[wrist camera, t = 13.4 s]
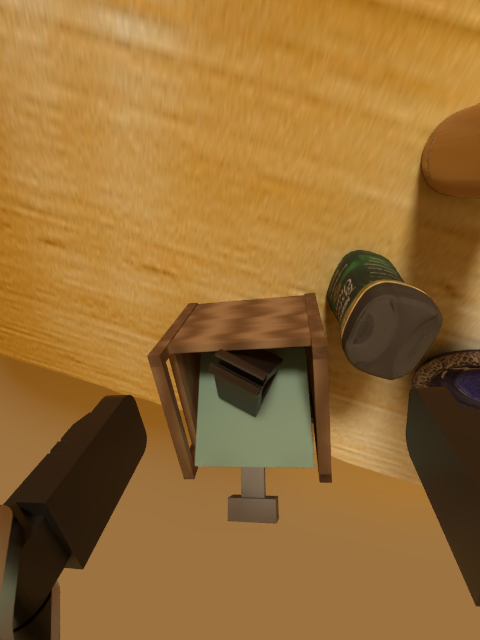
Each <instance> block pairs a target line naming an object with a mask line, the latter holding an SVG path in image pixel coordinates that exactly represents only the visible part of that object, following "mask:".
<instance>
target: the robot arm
mask: <svg viewBox="0 0 480 640" xmlns="http://www.w3.org/2000/svg"><path fill="white" fill-rule="evenodd" d="M422 172H423V176H424V178H425V180H426V182H427V183H428V184H429V185H430V187H431V188H432V189H434V190H436V191H437V192H439V193H442V194H445V195H453V196H462V197H471V198H480V103H479V104H477V105H474V106H472V107H469V108H467V109H464V110H462V111H459V112H457V113H455V114H453V115H451V116H450V117H448V118H447V119H445V120H444V121H443V122H442V123H441V124H440V125H438V127H437V128H436V129H435V130H434V131H433V133H432V134H431V136H430V137H429V139H428V141H427V143H426V145H425V148H424V151H423V155H422ZM406 442H407V447H408V451H409V455H410V457H411V460H412V462H413V464H414V466H415V469H416V471H417V473H418V475H419V478H420V480H421V482H422V484H423V487H424V489H425V491H426V493H427V496H428V498H429V500H430V503H431V505H432V507H433V509H434V512H435V514H436V516H437V518H438V521H439V523H440V525H441V527H442V530H443V532H444V534H445V536H446V539H447V541H448V543H449V546H450V548H451V550H452V552H453V555H454V557H455V559H456V562H457V564H458V566H459V568H460V571H461V573H462V575H463V577H464V579H465V582H466V584H467V586H468V589H469V591H470V593H471V596H472V598H473V600H474V602H475V605H476V606H480V412H479V411H478V410H476V409H475V408H473V407H461V406H460V405H459V403H458V402H457V401H456V399H455V398H454V397H453V395H452V394H451V393H450V391H449V390H448V389H447V388H445V387H418V388H412V389H411V390H410V393H409V403H408V414H407V424H406ZM146 443H147V435H146V431H145V428H144V425H143V422H142V419H141V416H140V413H139V410H138V407H137V404H136V401H135V399H134V397H133V396H131V395H110V396H105V397H104V398H103V399H102V400H101V401H100V402H99V404H98V405H97V406H96V407H95V408H94V409H93V411H92V412H91V413H88V414H87V415H85V416H84V417H83V418H81V419H80V420H79V421H77V422H76V423H75V424H73V425H72V426H71V428H70V429H69V430H68V431H67V432H66V433H65V435H64V436H63V437H62V438H61V441H60V442H57V444H56V445H55V446H54V447H53V448H52V449H51V452H50V454H47V455H46V456H45V458H44V459H43V460H42V461H41V462H40V463H39V464H38V466H37V467H36V468H35V469H34V470H33V471H32V472H31V473H30V475H29V476H28V477H27V478H26V479H25V480H24V481H23V483H22V484H21V485H20V486H19V487H18V488H17V489H16V491H15V492H14V493H13V494H12V495H11V496H10V498H9V499H8V500H7V501H6V502H5V503H4V504H3V505H0V640H60V586H59V583H58V581H57V579H58V577H59V576H60V574H61V572H62V570H63V569H64V568H73V569H83V568H84V567H85V564H86V563H87V561H88V559H89V557H90V555H91V553H92V551H93V549H94V548H95V546H96V544H97V542H98V540H99V538H100V536H101V534H102V532H103V530H104V528H105V527H106V525H107V523H108V521H109V519H110V517H111V515H112V513H113V511H114V509H115V507H116V505H117V504H118V502H119V500H120V498H121V496H122V494H123V492H124V490H125V488H126V486H127V485H128V483H129V481H130V479H131V477H132V475H133V473H134V471H135V469H136V467H137V465H138V464H139V461H140V460H141V458H142V456H143V454H144V451H145V448H146Z"/></svg>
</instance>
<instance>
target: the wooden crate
mask: <svg viewBox="0 0 480 640" xmlns="http://www.w3.org/2000/svg"><path fill="white" fill-rule="evenodd" d="M301 346H309V349H310V367H311V384H312V393H311V394H309V401H310V413H311V423H313V424H314V433H315V443H316V452H317V461H318V471H319V480H320V482H324V483H325V482H326V483H329V482H330V483H331V482H332V478H331V477H332V476H331V445H330V413H329V382H328V351H327V343H326V339H325V334H324V330H323V326H322V322H321V317H320V313H319V309H318V305H317V301H316V296H315V293H308V294H305V295H302V296H290V297H279V298H267V299H255V300H243V301H231V302H219V303H207V304H198V303H190V304H188V305H187V306H186V308H185V309H184V310H183V312H182V313H181V314H180V315H179V317H178V318H177V319H176V320H175V322H174V323H173V324H172V325H171V327H170V328H169V329H168V330H167V332H166V333H165V334H164V336H163V337H162V338H161V339H160V341H159V342H158V343H157V344H156V346H155V347H154V348H153V349H152V351H151V352H150V353H149V354H148V360H149V363H150V367H151V370H152V373H153V377H154V380H155V383H156V387H157V390H158V393H159V397H160V400H161V403H162V406H163V410H164V413H165V416H166V420H167V423H168V427H169V430H170V433H171V437H172V440H173V444H174V447H175V450H176V453H177V457H178V460H179V464H180V467H181V470H182V474H183V477H184V479H195V475H196V472H197V469H198V466H195V451H196V433H197V415H198V397H199V379H200V361H201V353H207V352H208V351H218V350H219V349H223V350H225V351H227V350H245V349H264V348H282V347H301ZM168 358H169V360H170V364H171V367H172V371H173V375H174V379H175V382H176V386H177V390H178V393H179V397H180V401H181V405H182V408H183V412H184V415H185V420H186V423H187V427H188V431H189V434H190V438H191V442H192V445H191V447H190V449H189V445H188V441H187V438H186V434H185V430H184V427H183V423H182V420H181V416H180V412H179V408H178V405H177V401H176V398H175V394H174V390H173V387H172V383H171V379H170V376H169V372H168V368H167V365H166V361H167V359H168Z"/></svg>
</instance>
